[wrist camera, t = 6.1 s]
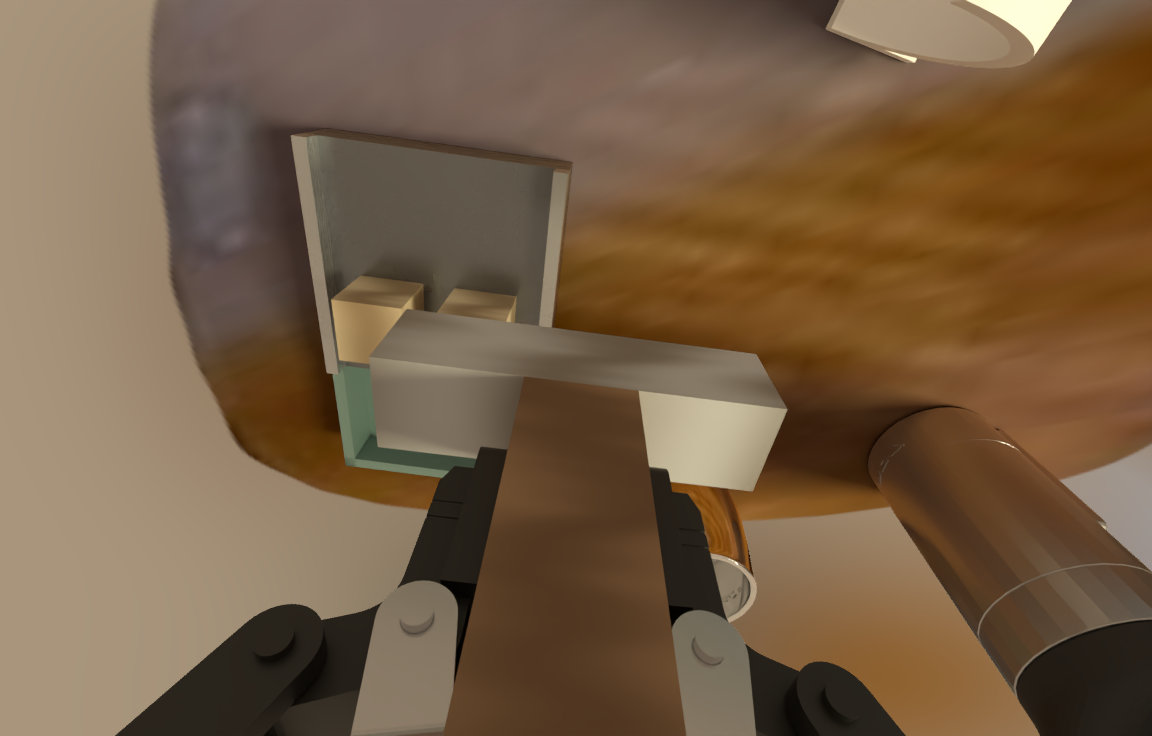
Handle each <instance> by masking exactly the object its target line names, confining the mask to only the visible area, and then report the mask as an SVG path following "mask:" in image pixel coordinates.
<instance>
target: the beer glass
mask: <svg viewBox="0 0 1152 736" xmlns="http://www.w3.org/2000/svg"><path fill="white" fill-rule="evenodd" d="M671 487H672V492H679V493H687V494H688V495H689V496H690V498H691V499H692V500H693V502H694V503H695V505H696V506H697V507H698V509H699V510H700V512H701V516H702V520H703V524H704V529H705V535H706V537H707V541H708V545H709V551H710V554H711V558H712V562H713V566H714V570H715V574H716V579H717V583H718V587H719V591H720V595H721V599H722V604H723V608H724V612H725V615H726V618H727V620H728V622H732V621H734V620H736V619H737V618H739V617H740V616H742V615H743V614H744V613H745V612H746V611H748V609H749V608H750V607H751V606H752V604H753V603H754V600H755V598H756V595H757V584H756V580H755V578H754V573H753V569H752V563H751V558H750V554H749V548H748V544H747V539H746V536H745V531H744V528H743V524H742V521H741V518H740V515H739V512H738V509H737V507H736V504H735V502H734V500H733V498H732V496H731V494H730V492H729V489H728V488H719V487H711V486H702V485H694V484H686V483H677V482H671Z"/></svg>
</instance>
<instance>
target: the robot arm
mask: <svg viewBox="0 0 1152 736" xmlns="http://www.w3.org/2000/svg"><path fill="white" fill-rule="evenodd" d="M507 451H508V449H499V448H491V447H483V446H481V447H480V449H479V452H478V455H477V459H476V462H475V465H474V468H469V467H460V466H454V467H453V468H452V469H451V470H450V471H449V472H448V473H447V474H446V475H445V476H444V477H443V478H442V479H441V480H440V481H439V484H438V486H437V489H436V492H435V494H434V497H433V501H432V503H431V505H430V508H429V510H428V513H427V518H426V519H425V521H424V524H423V527H422V529H421V532H420V534H419V537H418V540H417V542H416V545H415V548H414V550H413V553H412V556H411V559H410V561H409V564H408V567H407V569H406V572H405V575H404V577H403V579H402V581H401V583H400V585H399V586H398V588H397V589H395V590H394V591H393V592H391V593H390V594H389V595H388V596H387V597H386V598H385V599H384V601H383V602H381V603H380V604H378V605H377V606H375V607H372V608H371V609H368V610H365V611H362V612H358V613H354V614H349V615H344V616H340V617H334V618H330V619H325V620H321V619H320V617H319V616H318V614H317V613H316V612H315V611H313V610H312V609H310V608H308V607H306V606H303V605H297V604H290V605H289V604H287V605H281V606H276V607H273V608H270V609H268V610H266V611H264V612H262V613H260V614H258V615H257V616H255V617H253V618H252V619H251V620H249V621H248V622H247V623H245V624H244V625H243V626H242V627H241V628H240V629H238V630H237V631H236V632H235V633H234V634H233V635H231V636H230V637H229V638H228V639H227V640H226V641H224V642H223V643H222V644H221V645H220V646H219V647H218V648H216V649H215V650H214V651H213V652H212V653H211V654H209V655H208V656H207V657H206V658H205V659H204V660H203V661H201V662H200V663H199V664H198V665H197V666H195V667H194V668H193V669H192V670H191V671H190V672H189V673H187V675H185V676H184V677H183V678H182V679H180V680H179V681H178V682H177V683H176V684H175V685H173V686H172V687H171V688H170V689H169V690H168V691H167V692H166V693H164V694H163V695H162V696H161V697H160V698H158V699H157V700H156V701H155V702H154V703H153V704H151V705H150V706H149V707H148V708H147V709H146V710H145V711H143V712H142V713H141V714H140V715H139V716H138V717H136V718H135V719H134V720H133V721H132V722H131V723H129V724H128V725H127V726H126V727H125V728H124V729H122V730H121V731H120V732H119V733H118V734H117V735H115V736H443V732H444V728H445V724H446V719H447V715H448V710H449V706H450V702H451V697H452V693H453V688H454V684H455V680H456V675H457V671H458V666H459V662H460V658H461V653H462V649H463V644H464V640H465V636H466V631H467V627H468V622H469V618H470V614H471V609H472V605H473V600H474V596H475V592H476V587H477V583H478V578H479V574H480V570H481V565H482V561H483V556H484V552H485V548H486V543H487V539H488V534H489V530H490V526H491V521H492V517H493V512H494V508H495V504H496V499H497V495H498V490H499V486H500V482H501V477H502V473H503V468H504V464H505V460H506V455H507ZM868 469H869V474H870V476H871V478H872V480H873V482H874V483H875V485H876V486H877V488H878V489H879V491H880V492H881V494H882V495H883V497H884V498H885V500H886V501H887V503H888V504H889V506H890V507H891V509H892V510H893V512H894V514H895V515H896V517H897V518H898V520H899V521H900V523H901V524H902V526H903V527H904V529H905V530H906V532H907V533H908V535H909V536H910V538H911V539H912V541H913V542H914V544H915V545H916V546H917V548H918V550H919V551H920V553H921V554H922V556H923V557H924V559H925V560H926V562H927V563H928V565H929V567H930V568H931V570H932V571H933V573H934V574H935V576H936V577H937V579H938V580H939V582H940V583H941V585H942V586H943V587H944V589H945V591H946V592H947V594H948V595H949V597H950V598H951V600H952V601H953V603H954V604H955V606H956V607H957V609H958V610H959V612H960V613H961V615H962V616H963V618H964V619H965V621H966V622H967V624H968V625H969V627H970V628H971V630H972V631H973V633H974V634H975V636H976V638H977V639H978V641H979V642H980V643H981V645H982V646H983V648H984V649H985V650H986V652H987V654H988V655H989V657H990V658H991V660H992V661H993V663H994V664H995V666H996V667H997V669H998V670H999V672H1000V673H1001V675H1002V676H1003V678H1004V679H1005V681H1006V682H1007V684H1008V685H1009V687H1010V688H1011V690H1012V692H1013V693H1014V694H1015V696H1016V697H1017V699H1018V700H1019V702H1020V704H1021V705H1022V707H1023V708H1024V710H1025V711H1026V713H1027V714H1028V716H1029V717H1030V719H1031V720H1032V722H1033V723H1034V725H1035V727H1036V728H1037V730H1038V732H1039V734H1040V736H1152V571H1151V570H1149V569H1148V568H1147V567H1146V566H1145V565H1144V564H1143V563H1142V562H1141V561H1140V560H1139V559H1137V558H1136V557H1135V556H1134V555H1133V554H1132V553H1131V552H1130V551H1128V550H1127V549H1126V548H1125V547H1124V546H1123V545H1122V544H1121V543H1120V542H1119V541H1118V540H1116V539H1115V538H1114V537H1113V536H1112V535H1111V534H1110V533H1109V532H1108V531H1107V525H1106V522H1105V521H1104V520H1103V519H1102V518H1101V517H1100V516H1099V515H1097V514H1096V513H1095V512H1094V511H1093V510H1092V509H1091V508H1089V507H1088V506H1087V505H1086V504H1085V503H1084V502H1083V501H1082V500H1081V499H1079V498H1078V497H1077V496H1076V495H1075V494H1074V493H1073V492H1071V491H1070V490H1069V489H1068V488H1067V487H1066V486H1065V485H1064V484H1063V483H1061V482H1060V481H1059V480H1058V479H1057V478H1056V477H1055V476H1054V475H1052V474H1051V473H1050V472H1049V471H1048V470H1047V469H1046V468H1045V467H1043V466H1042V465H1041V464H1040V463H1039V462H1038V461H1037V460H1036V459H1034V458H1033V457H1032V456H1031V455H1030V454H1029V453H1028V452H1027V451H1025V450H1024V449H1023V448H1022V447H1021V446H1020V445H1019V444H1018V443H1016V442H1015V441H1014V440H1013V439H1012V438H1011V437H1010V436H1009V435H1007V434H1006V433H1005V432H1004V431H1000V430H996V429H995V428H994V427H992V426H991V425H990V424H989V423H988V422H987V421H986V420H985V419H983V418H982V417H981V416H979V415H978V414H976V413H974V412H971V411H969V410H966V409H960V408H953V407H947V408H935V409H930V410H924V411H922V412H919V413H916V414H913V415H910V416H908V417H906V418H904V419H903V420H901V421H899V422H897V423H896V424H894V425H893V426H892V427H890V428H889V429H888V430H887V431H886V432H885V433H884V434H882V435H881V436H880V437H879V439H878V440H877V442H876V443H875V445H874V446H873V448H872V450H871V453H870V455H869V460H868ZM649 470H650V477H651V484H652V491H653V498H654V506H655V513H656V520H657V527H658V534H659V542H660V549H661V556H662V563H663V570H664V578H665V585H666V592H667V599H668V606H669V614H670V621H671V628H672V635H673V642H674V650H675V657H676V664H677V671H678V678H679V686H680V693H681V700H682V707H683V714H684V722H685V729H686V736H905V734H904V733H903V732H902V731H901V729H900V728H899V727H898V726H897V725H896V724H895V722H894V721H893V720H892V718H891V717H890V716H889V715H888V714H887V712H886V711H885V710H884V709H883V707H882V706H881V705H880V704H879V703H878V701H877V700H876V699H875V697H874V696H873V695H872V694H871V693H870V691H869V690H868V689H867V688H866V687H865V686H864V685H863V683H862V682H861V681H859V680H858V679H857V678H856V677H855V676H854V675H852V674H851V673H850V672H848V671H847V670H845V669H843V668H841V667H839V666H837V665H834V664H831V663H828V662H813V663H810V664H808V665H806V666H804V667H803V668H802V670H801V671H800V672H799V671H797V670H795V669H792V668H790V667H787V666H785V665H783V664H781V663H778V662H776V661H774V660H772V659H769V658H767V657H765V656H763V655H761V654H759V653H757V652H755V651H754V650H753V649H751V648H750V647H749V646H747V645H746V644H745V643H744V641H743V639H742V637H741V636H740V634H739V633H738V631H737V630H736V629H735V628H734V627H733V626H732V625H731V624H730V623H729V622H728V620H727V618H726V615H725V612H724V608H723V604H722V599H721V595H720V591H719V587H718V583H717V579H716V574H715V570H714V566H713V562H712V558H711V554H710V551H709V545H708V541H707V537H706V535H705V529H704V524H703V520H702V516H701V512H700V510H699V509H698V507H697V506H696V505H695V503H694V502H693V500H692V499H691V498H690V496H689V495H688V494H687V493H679V492H672V487H671V482H670V477H669V472H668V470H667V469H664V468H656V467H649Z"/></svg>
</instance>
